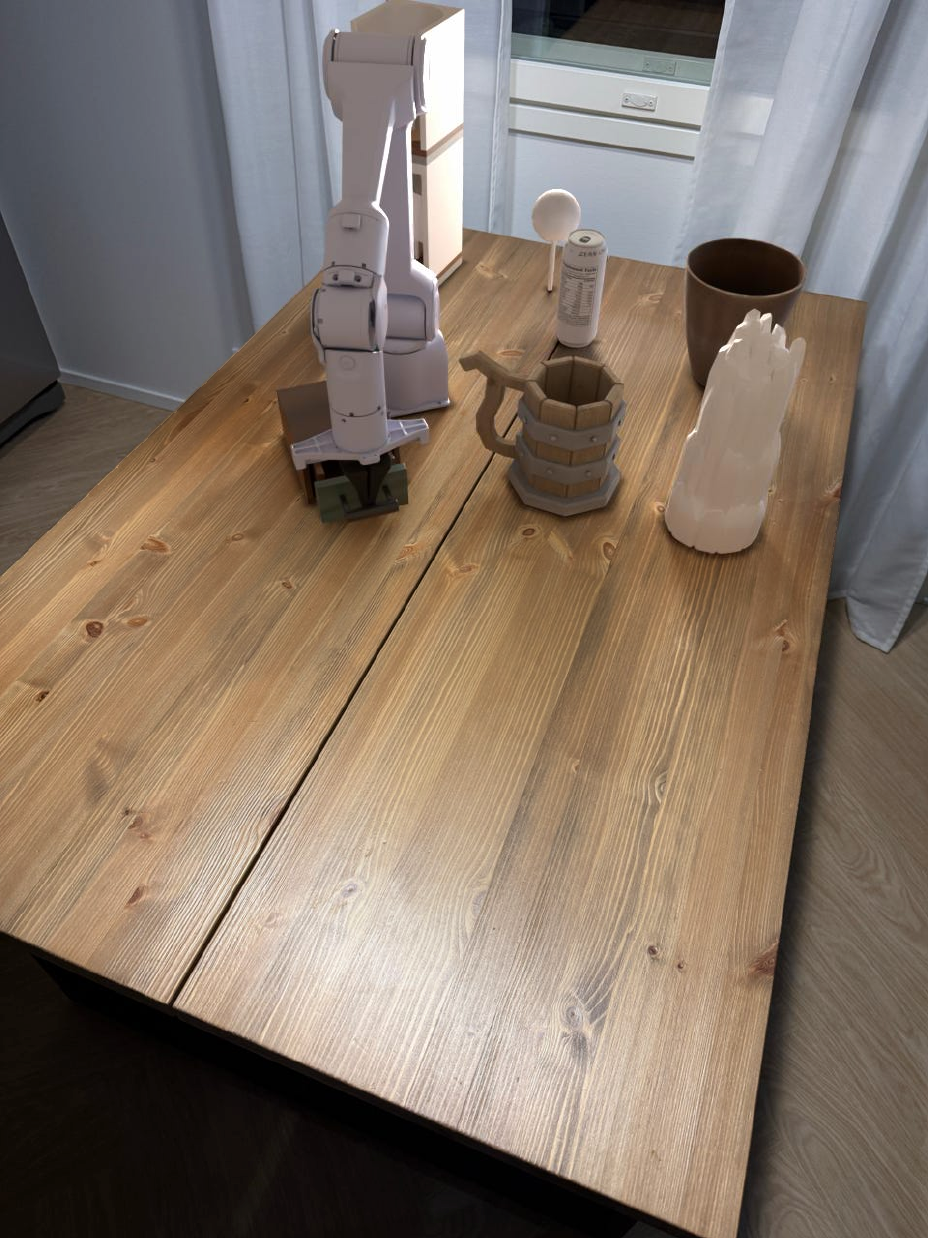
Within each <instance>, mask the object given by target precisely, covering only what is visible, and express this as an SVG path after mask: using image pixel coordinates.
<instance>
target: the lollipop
mask: <svg viewBox="0 0 928 1238" xmlns="http://www.w3.org/2000/svg"><path fill="white" fill-rule="evenodd" d="M581 213H582V212H581V207H580V204H579V202H578V200H577V198H576V197H575V196H574V195H573V194H572V193H570V192H569V191H567V190H565V189H560V188H554V189H549V190H547V191H545V192H544V193H542V194H540V196H539V197H538V198H537V199H536V201H535V203H534V205H533V206H532V212H531V223H532V227H533V230H534V232H535V233H536V234H537V236H538V237H540V238H541V239H542V240H544V241H545V242H549V243H551V245H550V257H549V270H548V278H547V279H548V280H547V290H548V291H552V290H553V281H554V271H555V259H556V248H557V243H562V242H565V241H567V240H568V238H569V234H570V233H571V232H573V231H575V230H578V228H579V225H580V223H581Z"/></svg>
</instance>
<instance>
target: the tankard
mask: <svg viewBox="0 0 928 1238" xmlns="http://www.w3.org/2000/svg"><path fill="white" fill-rule="evenodd" d="M458 363H459V364H460V366H461V368H462V370H463V371H464V372H470V371H472V370H473V371H474V370H477V371H479V372H480V373H481V374H482V375H483V376H484V377H486V384H485V389H484V390H485V392H484V397H483V399H482V401H481V403H480V405H479V407H478V409H477V411H476V413H475V431H476V433H477V435H478V437H479V438H480V441H481V443H482V444H483V447H484V449H486V450H488V451H491V452H492V453H495V454H497V455H500V456H501V457H505V458H509V459H513V460H512V461H511V463H510V464H509V466H508V467H507V475H506V476H507V478H508V480H509V482H510V483H511V485H512V486H513V488H514V490H515V491H516V493H517V495H518V496H519V499H520V500H521V502H522V503H523V504H524V505H527V506H530V507H533V508H536V509H538V510H542V511H546V512H549V513H552V514H555V515H559V516H561V517H569V516H572V515H576V514H580V513H584V512H589V511H593V510H597V509H601V508H604V507H607V505H608V503H609V501H610V499H611V497H612V495H613V494H614V492H615V490H616V488H617V486H618V484H619V482H620V480H621V476H622V471H621V470H620V469H619V467H618V466H617V465H616V463H615V461H616V459H617V456H618V454H619V452H620V445H621V439H622V438H621V437H620V436H619V435H618V433H617V432H618V431H619V429H620V427H622V425H623V422H624V420H625V416H626V412H627V411H626V410H627V405H628V403H627V402H626V401H625V400H624V399H623V395H624V389H625V386H624V385H625V384H624V383H623V382H622V380H621V379H620V377H618V376H617V374H616V372H614V370H613V369H612V368H611V367H610V366H609V365H607V364H606V363H603V362H600V361H596V360H592V359H588V358H585V357H584V358H583V357H581V356H578V355H575V356H572V355H569V356H563V357H558V358H554V359H553V358H552V359H549V360H544V361H541V362H539V363H537V365H536V367H535V368H534V369H533V371H531V373H530V375H527V374H523V373H519V372H516V371H513V370H512V371H511V370H509V369H507V368H506V367H505V366H503V365H501V363H498V362H497V361H496V360H494V359H493V358H492V357H490V356H488V355H487V353H485V352H483V351H482V350H481V349H478V350H474V351H471V352H468V353H464V354H462V355H461V356H460V357H459V358H458ZM506 388H509V389H513V390H514V391H515V390H516V391H518V392H522V395H521V396H520V397H519V398H518V400H517V417H518V418H519V420H520V422H521V423H522V426H521V427H520V429H519V431H517V434H516V435H515V440H512V439H506V438H505V437H502V436H500V435H499V434H498V432H497V430H496V427H495V418H496V415H497V413H498V412H499V410H500V407H501V406H502V403H503V401H504V398H505V394H506V393H505V392H506Z"/></svg>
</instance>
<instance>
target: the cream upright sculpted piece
mask: <svg viewBox="0 0 928 1238" xmlns="http://www.w3.org/2000/svg"><path fill="white" fill-rule="evenodd" d="M771 322H772V315H771V313H768V314H765V315H763V316H762V317H761V318H760V312H759V311H758V310H756V309H753V310H751V311H750V312H748V313H747V314H746V317H745V319H744V321H743V323H742V324H740V325H739V326H737V328H736V330H735V331H734V333H733V335H732V337H731V338H730V340H729V342H728V344H727V345H726V346H724V347H722V348H721V350H720V351H719V353H718V355H717V357H716V359H715V361H714V364H713V366H712V368H711V370H710V372H709V376H708V380H707V384H706V386H705V387H704V388H705V389H704V392H703V397H702V400H701V404H700V408H699V412H698V417H697V420H696V423H695V427H694V429H693V430H692V432H691V433H690V434H688V436H686V439H685V442H684V446H683V449H682V454H681V458H680V462H679V466H678V470H677V474H676V476H675V478H674V480H673V483H672V486H671V488H670V493H669V497H668V500H667V505H666V509H665V514H664V522H665V524H666V527H667V530H668V531H669V532H671V533H670V534H671V536H672V537H673V538H674V539H676V540H677V541H678V542H680V543H682V544H683V545H685V546H687V547H688V548H692V547H694V549H695V550H697V551H700V552H704V553H708V554H715V553H716V554H719V555H724V554H731V553H738V552H742V550H745V549H746V548H748V547H750V546H751V545H752V544H753V543H754V542H755V540H756V538H757V537H758V534H759V532H760V528H761V526H762V523H763V520H764V518H765V515H766V511H767V509H768V500H769V490H770V487H771V484H772V481H773V479H774V476H775V473H776V470H777V467H778V465H779V462H780V457H781V450H782V440H781V431H780V430H781V426H782V424H783V422H784V418H785V415H786V412H787V409H788V406H789V404H790V400H791V398H792V394H793V392H794V389H795V386H796V383H797V380H798V377H799V374H800V372H801V369H802V366H803V362H804V358H805V353H806V349H807V343H806V341H805V339H804V338H803V337H802V336H801V337H798V338H796V339H793V340H792V343H791V344H790V347H789V349H788V348H787V347H786V339H787V338H786V336H787V335H786V331H785V328H784V327H781V326H779V325H778V324H776V325H775V327H774V330H773V332H772V333H771Z"/></svg>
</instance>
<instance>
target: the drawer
mask: <svg viewBox="0 0 928 1238" xmlns="http://www.w3.org/2000/svg"><path fill="white" fill-rule="evenodd" d="M388 453H389V455H390V457H391V462H392V463H391V469H390V470H389V471H388V473H387V474H386V476H385V477H384V479H383V481H382V483H381V486H380V488H379V491H378V495H377V498H376V504H372V505H368V506H363V507H362V506H361V504H360V501H359V497H358V493H357V491H356V489H355V487H354V486H353V484H352V483H351V482H350V480H349V479H348V478H347V477H346V475H345V474H344V472H343V470H342V468H341V465H340V463H339V460H325V461H320V462H315V463H310V464H309V470H310V474H311V477H312V480H313V483H314V485H315V491H316V498H317V502H316V504H317V510H318V516H319V520H320V523H321V524H322V525H323V524H328V523H332V522H336V521H340V520H345V523H346V524H350V523H355V522H360V521H363V520H368V519H372V518H377V517H380V516H381V517H382V516H385V515H390V514H396V513H398V512H400V507H402V506H406V505H409V488H408V486H409V485H408V469H407V467H406V464H405V462H401V464H396V465H395V458H394V456H393V454H392V452H391V450H390V451H388Z"/></svg>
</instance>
